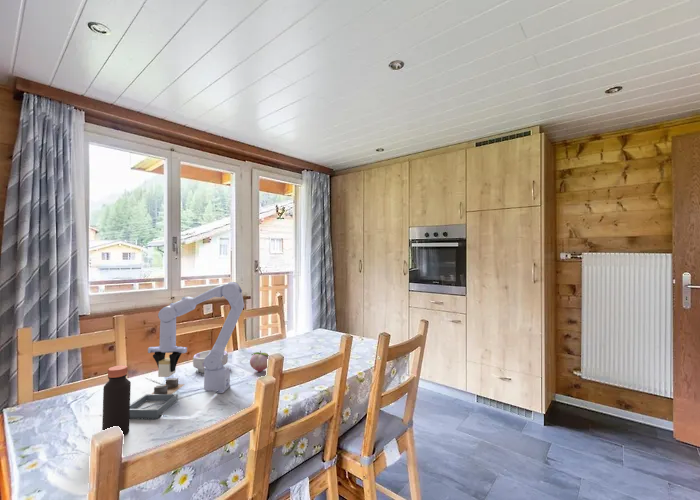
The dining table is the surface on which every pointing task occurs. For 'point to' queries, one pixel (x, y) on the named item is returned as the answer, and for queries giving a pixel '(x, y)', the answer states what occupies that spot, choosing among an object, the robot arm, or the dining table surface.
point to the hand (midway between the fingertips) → (167, 371)
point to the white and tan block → (165, 368)
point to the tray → (151, 412)
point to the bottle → (117, 399)
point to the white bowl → (199, 358)
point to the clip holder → (168, 387)
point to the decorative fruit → (259, 361)
